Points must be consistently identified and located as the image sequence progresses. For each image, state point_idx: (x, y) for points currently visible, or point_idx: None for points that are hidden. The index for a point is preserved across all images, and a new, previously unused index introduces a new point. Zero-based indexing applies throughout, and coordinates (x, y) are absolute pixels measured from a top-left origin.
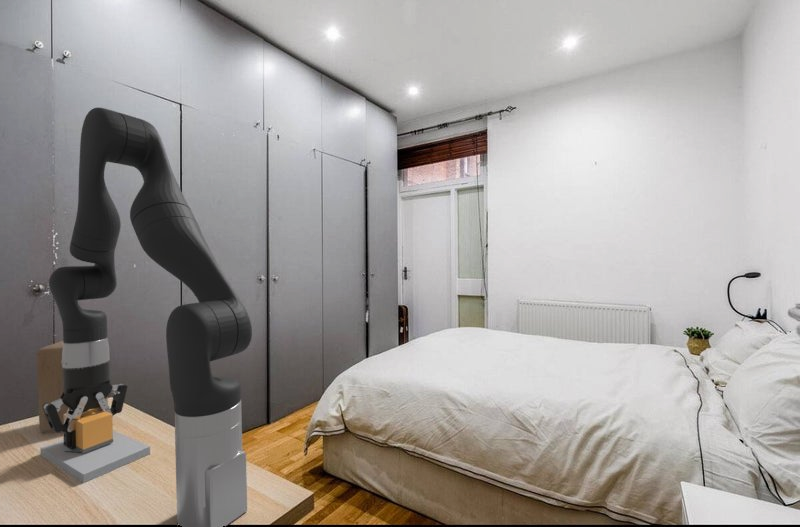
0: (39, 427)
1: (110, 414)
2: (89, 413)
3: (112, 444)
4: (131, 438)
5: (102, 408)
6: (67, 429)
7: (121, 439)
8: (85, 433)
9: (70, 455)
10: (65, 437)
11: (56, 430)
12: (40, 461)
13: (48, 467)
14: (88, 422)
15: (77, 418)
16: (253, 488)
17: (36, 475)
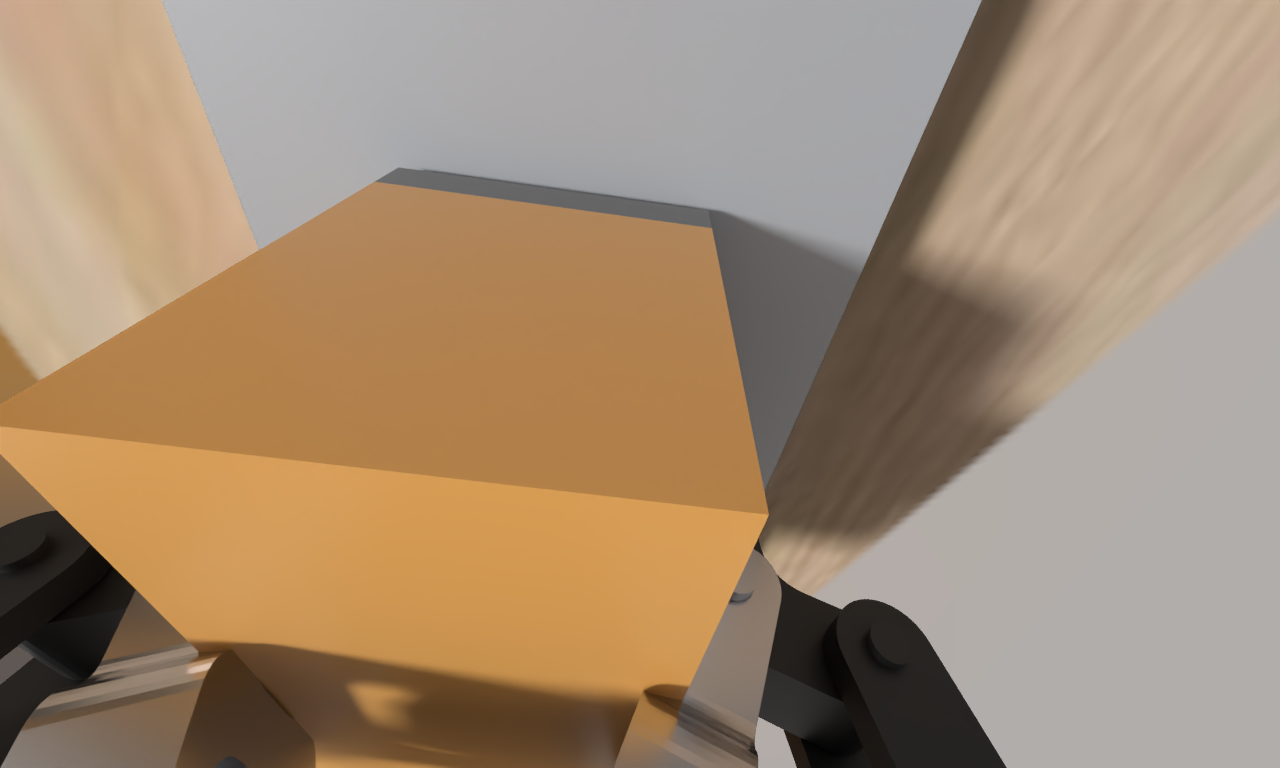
0: None
1: (33, 443)
2: (433, 721)
3: (417, 141)
4: (190, 63)
5: (169, 745)
6: (777, 593)
7: (306, 175)
8: (693, 333)
9: (752, 321)
10: None
11: (921, 646)
12: (774, 483)
13: (829, 372)
14: (629, 481)
15: (673, 727)
16: None
17: (943, 332)
